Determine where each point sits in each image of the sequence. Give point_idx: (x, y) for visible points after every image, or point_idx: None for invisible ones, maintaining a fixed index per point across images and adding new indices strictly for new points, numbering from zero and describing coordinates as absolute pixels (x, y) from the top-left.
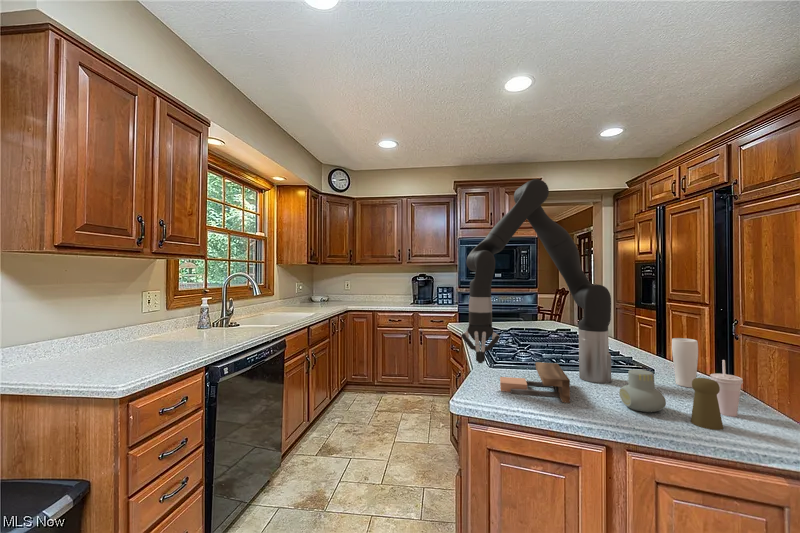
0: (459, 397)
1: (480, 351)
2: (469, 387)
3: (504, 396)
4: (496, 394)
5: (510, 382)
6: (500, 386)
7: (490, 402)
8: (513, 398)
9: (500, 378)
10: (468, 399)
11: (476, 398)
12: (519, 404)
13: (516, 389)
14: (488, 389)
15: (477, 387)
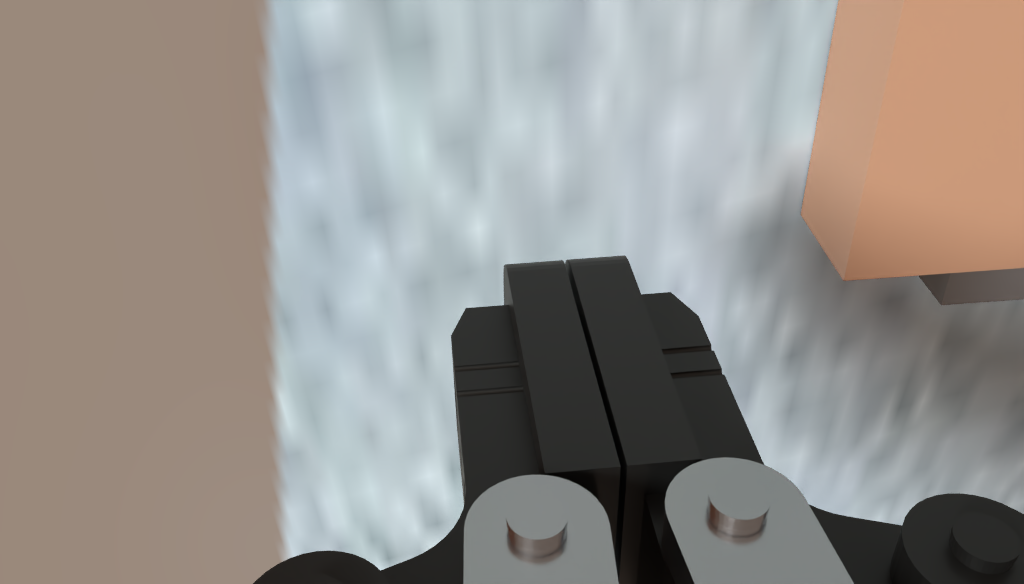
0: (291, 542)
1: (616, 449)
2: (331, 187)
3: (808, 385)
4: (721, 351)
5: (1013, 214)
6: (830, 122)
7: None
8: (898, 413)
9: (902, 29)
10: (401, 560)
11: None
12: None
13: (1022, 283)
14: (628, 197)
15: (457, 153)
